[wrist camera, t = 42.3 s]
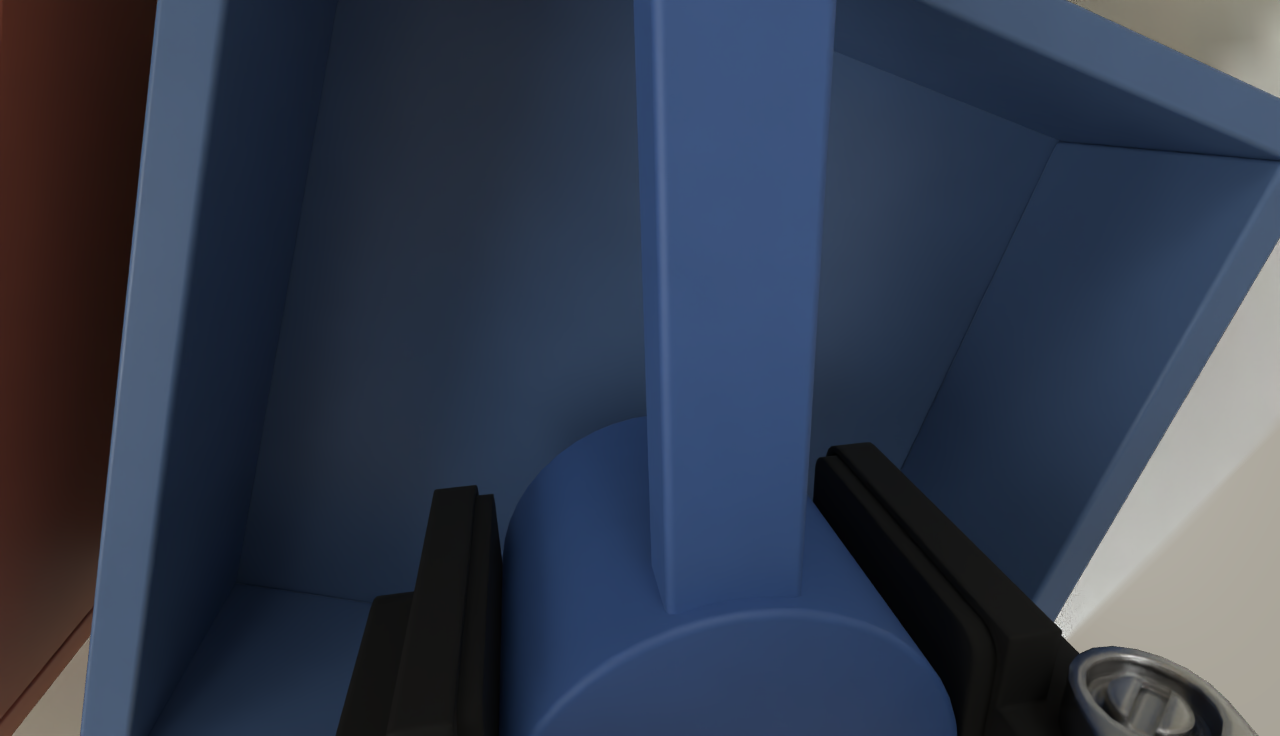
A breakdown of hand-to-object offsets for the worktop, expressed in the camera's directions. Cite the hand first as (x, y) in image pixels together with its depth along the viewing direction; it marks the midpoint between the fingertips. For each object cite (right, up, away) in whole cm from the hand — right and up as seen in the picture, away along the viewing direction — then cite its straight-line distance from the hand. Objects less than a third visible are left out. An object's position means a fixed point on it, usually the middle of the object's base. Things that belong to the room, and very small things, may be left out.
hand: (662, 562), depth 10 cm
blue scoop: (0, +2, -1) cm, 2 cm away
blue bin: (0, +3, +1) cm, 3 cm away
